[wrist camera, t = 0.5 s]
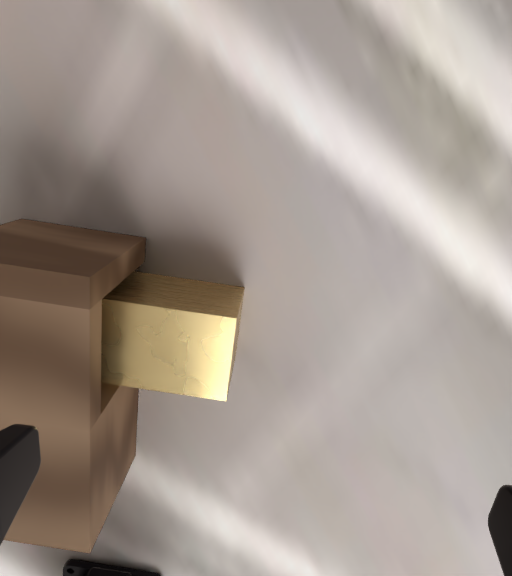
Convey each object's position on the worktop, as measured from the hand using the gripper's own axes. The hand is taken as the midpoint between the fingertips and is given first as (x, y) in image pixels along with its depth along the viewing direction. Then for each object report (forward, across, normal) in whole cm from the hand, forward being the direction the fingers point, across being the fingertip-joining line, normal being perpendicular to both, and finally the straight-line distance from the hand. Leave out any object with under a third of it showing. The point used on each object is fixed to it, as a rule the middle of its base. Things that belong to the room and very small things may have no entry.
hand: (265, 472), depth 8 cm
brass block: (+13, +7, +2) cm, 15 cm away
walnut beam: (+12, +9, +5) cm, 17 cm away
